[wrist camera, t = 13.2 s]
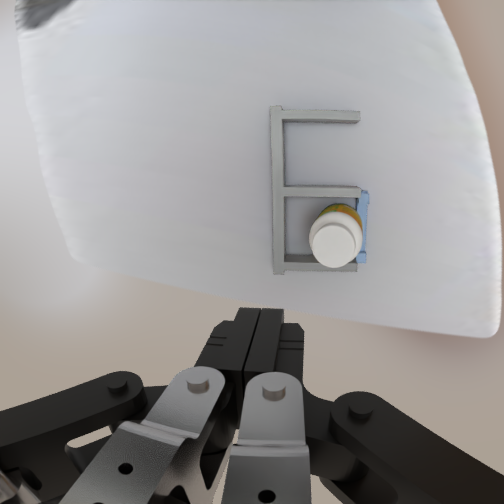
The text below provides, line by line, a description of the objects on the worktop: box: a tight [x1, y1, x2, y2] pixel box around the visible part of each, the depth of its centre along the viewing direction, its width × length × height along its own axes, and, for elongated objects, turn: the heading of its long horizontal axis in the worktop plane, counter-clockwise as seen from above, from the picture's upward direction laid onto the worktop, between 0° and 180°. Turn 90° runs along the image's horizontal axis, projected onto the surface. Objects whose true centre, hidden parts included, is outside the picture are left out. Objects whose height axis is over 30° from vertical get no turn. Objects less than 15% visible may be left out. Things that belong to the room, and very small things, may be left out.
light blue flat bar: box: [355, 191, 369, 263], centre depth 36 cm, size 8×1×2 cm, turn 1°
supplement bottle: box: [309, 203, 363, 268], centre depth 32 cm, size 5×5×10 cm
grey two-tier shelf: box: [270, 106, 361, 275], centre depth 35 cm, size 19×10×3 cm, turn 2°
